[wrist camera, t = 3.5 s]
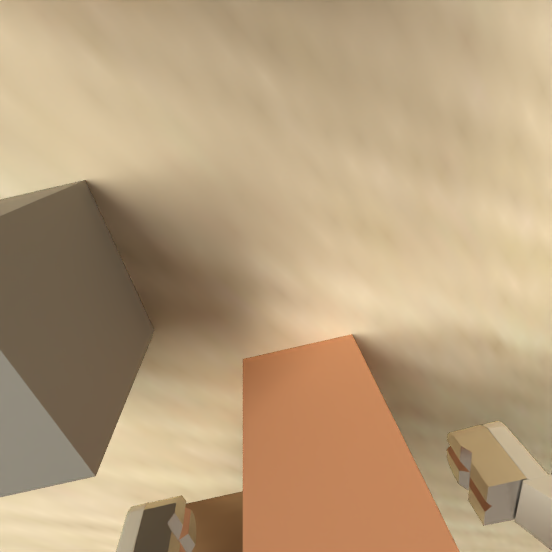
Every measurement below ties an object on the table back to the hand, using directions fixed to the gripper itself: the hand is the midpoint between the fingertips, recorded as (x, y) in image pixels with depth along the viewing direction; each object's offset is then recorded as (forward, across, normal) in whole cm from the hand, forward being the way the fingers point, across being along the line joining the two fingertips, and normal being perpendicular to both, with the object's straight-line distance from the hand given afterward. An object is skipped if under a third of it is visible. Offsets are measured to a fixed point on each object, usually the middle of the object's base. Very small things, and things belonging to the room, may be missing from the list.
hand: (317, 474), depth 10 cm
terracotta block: (+3, 0, 0) cm, 3 cm away
